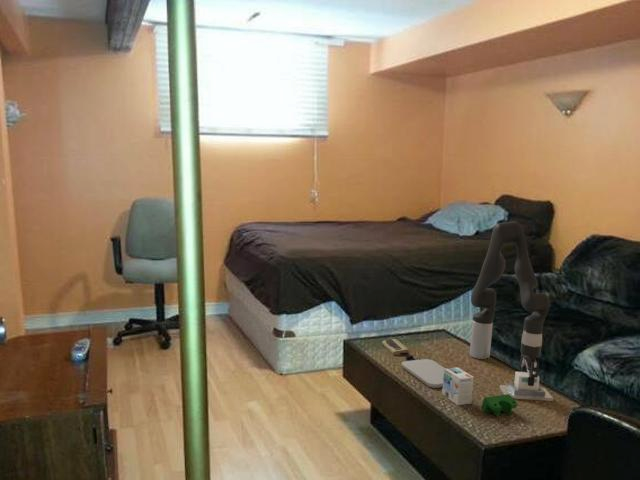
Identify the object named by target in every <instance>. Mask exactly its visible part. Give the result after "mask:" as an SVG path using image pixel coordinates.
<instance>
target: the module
mask: <svg viewBox="0 0 640 480" xmlns="http://www.w3.org/2000/svg"><path fill="white" fill-rule="evenodd" d="M528 376H529V375H528V372H522V371H515V375H514V381H513V382H514V386H515V387H516V389H522V390H537V391H538V389H539V385H540V376H539V375H538V377H537V378H536V377H535V379H534V386H528Z"/></svg>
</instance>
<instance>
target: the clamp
mask: <svg viewBox="0 0 640 480" xmlns="http://www.w3.org/2000/svg"><path fill="white" fill-rule="evenodd" d="M482 401H483V402H482V405H481V409H482V411H483V412H484V413H485V414H488V413H493V414H494V415H495V416H496V417H497V418H499V417H500V414H501V412H504V413H506V414H507V415H508V416H511V413H512V410H513V409H516V408H517V407H518V404H519V403H518V402H517V401H516V399H514V398H512V397H511V396H510V395H509V394H506V395H504V394H500V395H492V396H486V397H484V398H483V400H482Z"/></svg>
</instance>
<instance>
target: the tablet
mask: <svg viewBox="0 0 640 480" xmlns="http://www.w3.org/2000/svg"><path fill="white" fill-rule="evenodd" d="M401 366H402V369H404V370H405V371H406V372H407V373H409V374H410V375H411V376H413V377H415V378H416V379H417V380H419V381H420V382H422V383H423V384H424V385H426V386H427V387H430V388H433V389H435V388H443V378H444V369H447V368H445V367H444V366H442V365H441V364H439V363H438V362H436V361H434V360H432V359H429V358H427V359H426V358H423V359H415V360H414V359H413V360H405V361H402V362H401Z"/></svg>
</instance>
